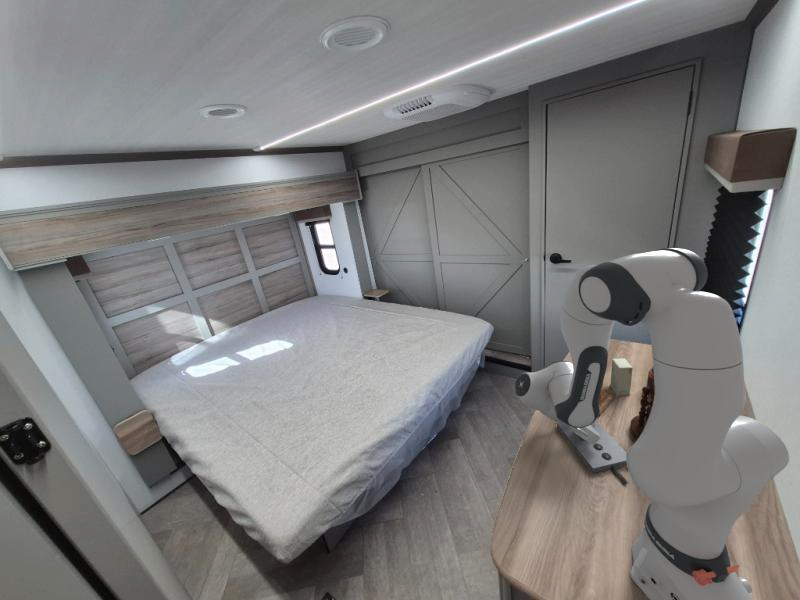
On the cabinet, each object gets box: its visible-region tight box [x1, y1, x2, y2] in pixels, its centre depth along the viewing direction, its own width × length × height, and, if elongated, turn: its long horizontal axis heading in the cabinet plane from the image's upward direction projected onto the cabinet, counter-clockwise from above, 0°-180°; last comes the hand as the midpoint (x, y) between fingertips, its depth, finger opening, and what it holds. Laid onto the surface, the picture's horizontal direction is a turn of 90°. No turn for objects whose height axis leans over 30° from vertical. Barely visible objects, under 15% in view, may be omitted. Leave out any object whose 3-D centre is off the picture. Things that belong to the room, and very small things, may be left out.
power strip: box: [556, 420, 629, 485], centre depth 95 cm, size 23×12×3 cm, turn 6°
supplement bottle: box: [645, 367, 654, 395], centre depth 110 cm, size 6×6×11 cm
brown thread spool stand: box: [629, 382, 655, 441], centre depth 92 cm, size 15×15×20 cm
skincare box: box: [609, 357, 634, 396], centre depth 114 cm, size 6×4×12 cm
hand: (585, 423), depth 98 cm, fingers open, 8 cm apart
